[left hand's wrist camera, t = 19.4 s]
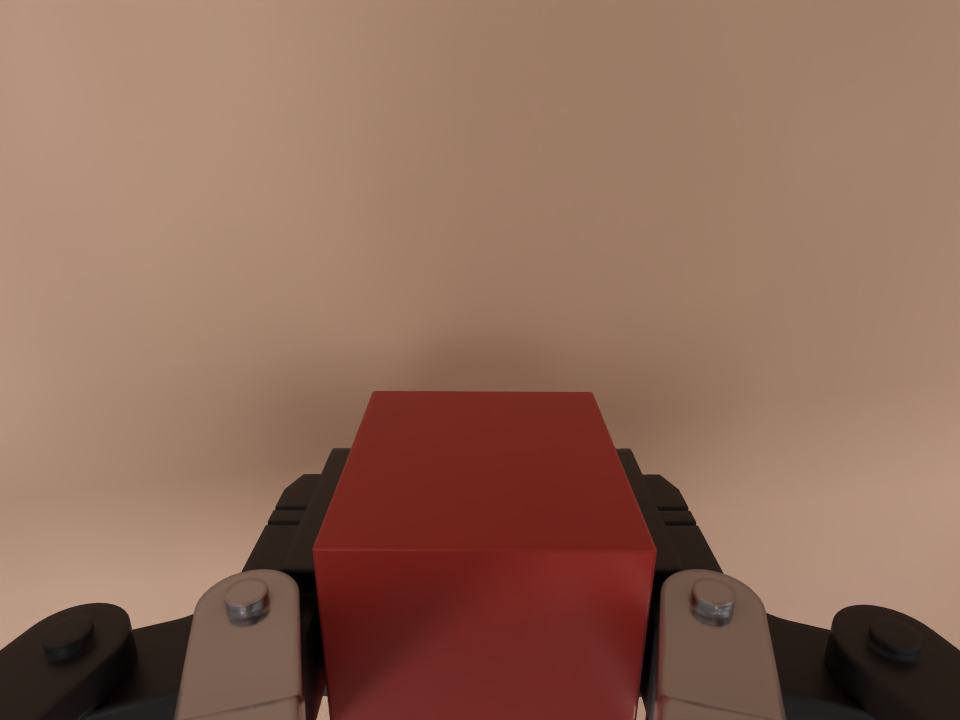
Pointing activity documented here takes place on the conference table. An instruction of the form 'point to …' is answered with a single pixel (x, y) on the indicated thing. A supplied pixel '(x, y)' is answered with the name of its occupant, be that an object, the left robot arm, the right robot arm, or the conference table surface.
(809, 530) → the conference table surface
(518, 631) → the block
